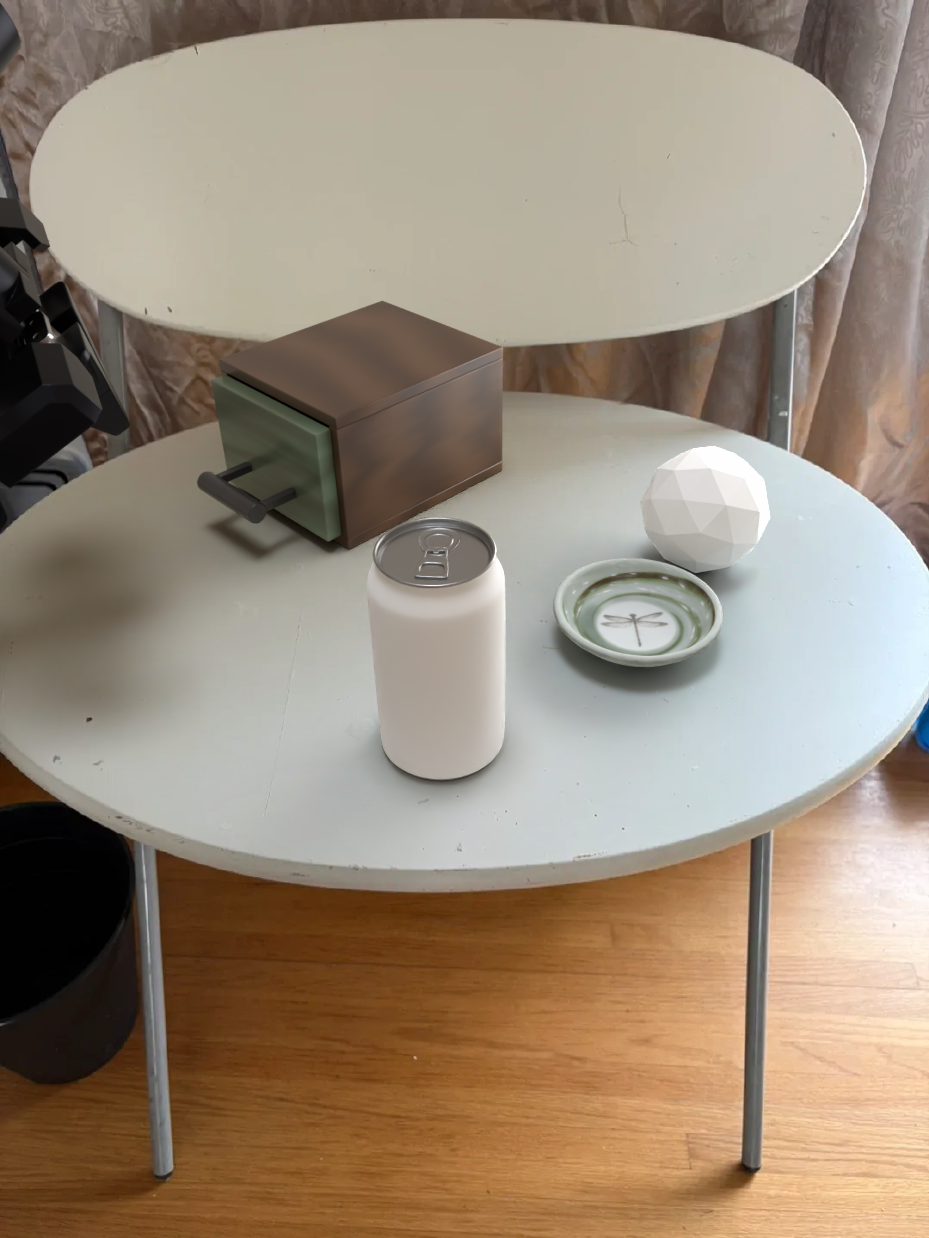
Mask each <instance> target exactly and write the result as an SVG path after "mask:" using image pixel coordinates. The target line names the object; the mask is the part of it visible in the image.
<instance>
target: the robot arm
mask: <svg viewBox="0 0 929 1238" xmlns="http://www.w3.org/2000/svg"><path fill="white" fill-rule="evenodd" d="M21 45H22V40H21V36H20V34H19V30H18V28H17V27H16V25H15V23H14V20H13V19H12V18H11V16H10V15H9V13H8V12H7V10H6V8H5V7H4V6H3V4H2V3H1V2H0V75H2V73H3V72H4V71H5V70H6V68H7V67H8V65H9V64H10V63H11V61H12V60H13V59H14V58H15V56H16V55H17V54H18V53H19V51H20V50H21V47H22V46H21ZM21 242H24V243H26V245H27V246H29V247H30V248H31V249H32V250H33V251H36V252H39V253H41V254H43V253H44V252H46V251H47V250H48V248H50V247H51V244H50V241H49V238H48V235H47V232H46V228H45V225H44V223H43V222H42V221H41V220H40V219H39V218H38V217H37V216H36V215H35V214H34V213H33V212H32V211H31V210H30V209H29V208H28V207H27V206H26V205H25V204H24V203H23V202H22V201H21V200H19V198H14V197H2V196H1V197H0V489H7V490H8V489H12V488H14V487H15V486H16V485H17V484H19V483H20V482H21V481H23V480H24V479H26V477H27V476H29V475H30V474H31V473H33V472H34V471H35V470H37V469H38V468H39V467H40V466H42V465H43V464H45V463H46V462H48V461H49V460H50V459H51V458H53V457H54V456H55V455H57V454H58V453H59V452H61V451H62V450H63V449H64V448H65V447H67V446H68V445H70V444H71V443H72V442H73V441H76V439H78V438H79V437H80V436H81V435H83V434H84V433H85V432H87V431H88V430H89V429H90V428H91V429H95V430H97V431H100V432H102V433H106V434H108V435H111V436H114V437H117V436H120V435H122V434H123V433H124V432H126V430H128V429H129V428H130V427H131V423H130V419H129V416H128V415H127V413H126V410H125V408H124V406H123V404H122V401H121V399H120V398H119V395H118V393H117V391H116V389H115V387H114V385H113V383H112V381H111V378H110V376H109V374H108V372H107V370H106V367H105V366H104V363H103V362H102V359H101V357H100V355H99V353H98V350H97V349H96V346H95V344H94V342H93V340H92V338H91V336H90V333H89V331H88V328H87V327H86V324H85V322H84V320H83V318H82V316H81V314H80V312H79V309H78V307H77V305H76V303H75V301H74V299H73V297H72V294H71V292H70V289H69V287H68V285H67V284H66V283H65V282H64V281H62V280H60V281H56V282H55V283H53V284H52V285H50V286H49V287H48V288H47V289H46V290H44V291H43V292H42V293H40V294H39V292H38V289H37V285H36V282H35V279H34V275H33V271H32V268H31V265H30V260H29V258H28V255H27V254H26V253H25V252H23V250H21V249H20V248H19V247H18V246H17V245H19V244H21Z"/></svg>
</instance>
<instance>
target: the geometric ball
mask: <svg viewBox="0 0 929 1238" xmlns="http://www.w3.org/2000/svg"><path fill="white" fill-rule="evenodd" d="M640 508H641V513H642V521H643V526H644V531H645V534H646V535H647V538H648V540H649V541H650V542H651V543H652V545H653V546H654V547H655V549H656V550H657V552H658V553H659V554H660V556H661V557H662V558H663V559H664V560H666V561H668V562H670V563H673V564H674V565H676V566H678V567H680V568H682V569H684V570H686V571H688V572H691V573H694V574H697V573H703V572H704V573H705V572H709V571H716V570H721V569H728V568H730V567H732V566H733V565H735V564H737V563H738V562H739V561H740V560H742V559H743V558H745V557H746V556H747V555H748V554H750V553H752V552H753V550H754V549H755V548H756V546H757V545H758V543H759V541H760V540H761V537H762V536H763V534H764V531H765V529H766V528H767V525H768V523H769V522H770V520H771V513H770V512H771V511H770V507H769V501H768V496H767V490H766V484H765V479H764V478H763V477H762V476H761V475H760V474H759V473H758V472H757V471H756V470H755V469H754V468H753V467H752V466H751V465H750V464H749V463H748V462H747V461H746V460H745V459H743V458H742V457H740V456H739V455H737V454H736V453H735V452H732V451H729V450H727V449H723V448H721V447H718V446H715V445H712V446H704V447H703V446H702V447H695V448H690V449H689V450H686V451H683V452H681V453H679V454H678V455H676V456H674V457H672V458H671V459H669V460H667V461H666V462H664V463H663V464H661V465H659V466H658V467H656V469H655V471H654V472H653V475H652V477H651V479H650V481H649V483H648V485H647V486H646V489H645V491H644V493H643V495H642V498H641V500H640Z"/></svg>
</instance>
